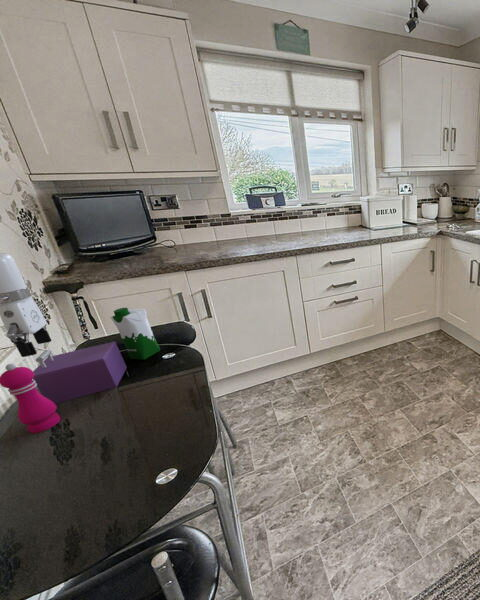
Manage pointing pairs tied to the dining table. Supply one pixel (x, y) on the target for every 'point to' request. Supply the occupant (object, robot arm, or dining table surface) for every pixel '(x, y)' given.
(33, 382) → the pepper mill
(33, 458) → the dining table surface
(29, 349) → the robot arm
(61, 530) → the dining table surface
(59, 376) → the box
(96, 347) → the lid
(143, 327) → the milk carton
